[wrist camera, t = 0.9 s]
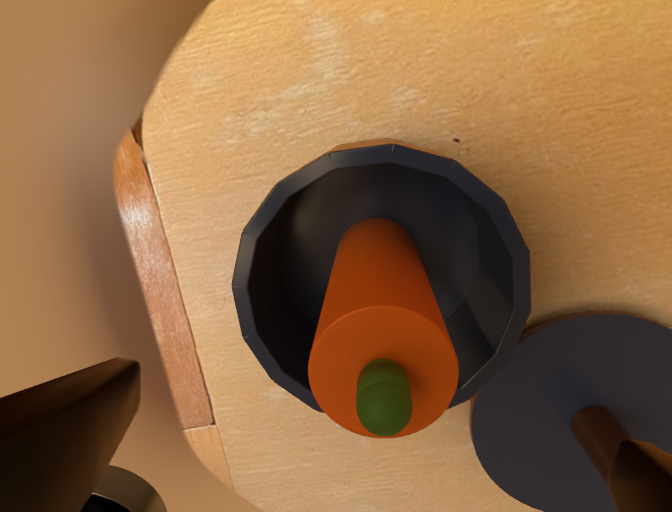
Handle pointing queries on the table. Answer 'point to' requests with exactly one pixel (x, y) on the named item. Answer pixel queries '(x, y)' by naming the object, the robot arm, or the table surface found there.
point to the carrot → (381, 337)
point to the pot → (428, 235)
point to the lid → (574, 407)
